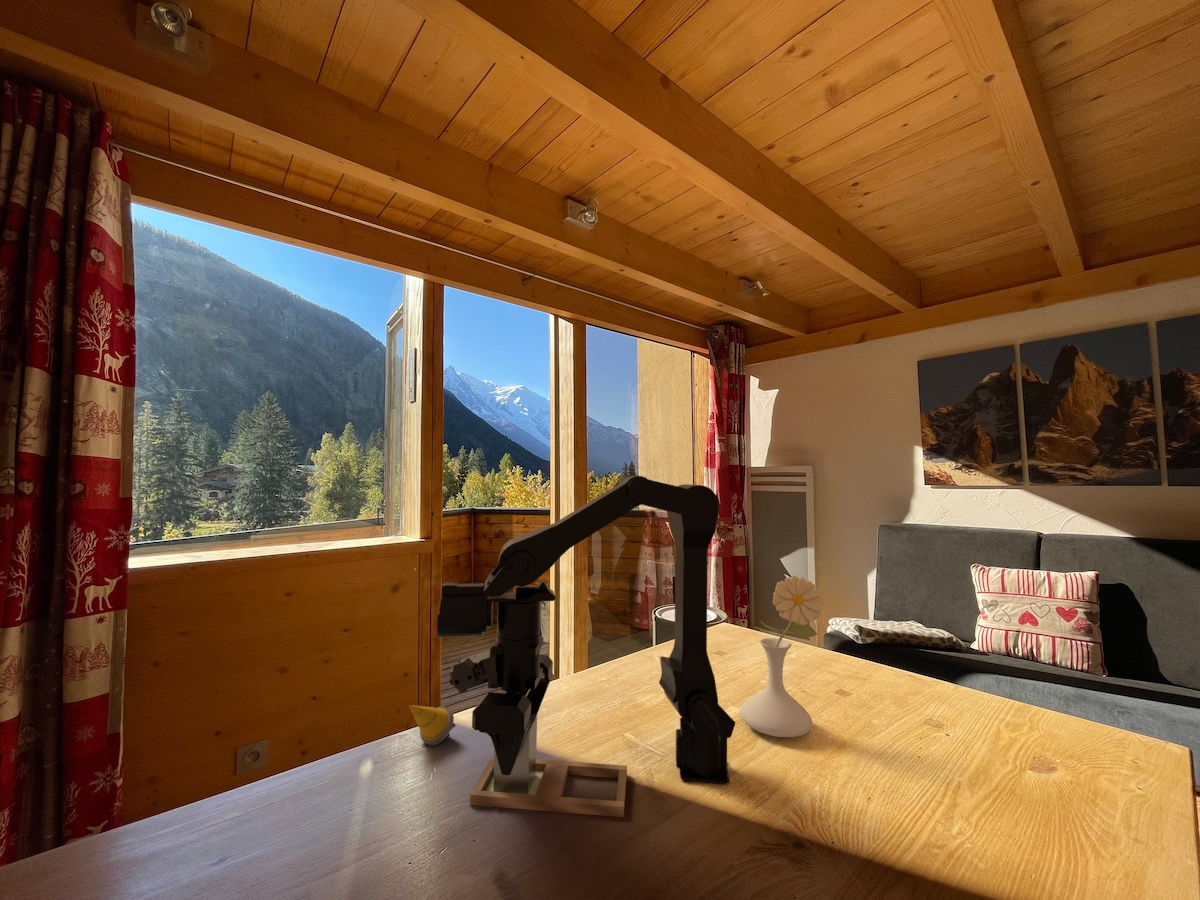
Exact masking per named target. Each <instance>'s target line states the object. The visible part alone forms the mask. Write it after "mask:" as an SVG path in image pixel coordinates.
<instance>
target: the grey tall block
mask: <svg viewBox="0 0 1200 900" xmlns="http://www.w3.org/2000/svg"><path fill="white" fill-rule="evenodd" d="M529 720H530V724H529V727H528V729H527V732H526V735H525V737H524V740H523V743H522V745H521V748H520V751H519V753H518V756H517V759H516V761H515V764H514V767H513V769H512V772H511V774H510V775H502V774H501V770H500V767H499V763H498V759H497V756H496V752H495V749H494V750H493V751H494V752H493V753H494V755H493V756H494V775H493V776H494V786H493V792H506V793H519V794H529V792H530V789H531V786H532V784H533V781H534V779H535V776H536V759H537V737H538V736H537V735H538V734H537V733H538V713H537V714H530V719H529Z"/></svg>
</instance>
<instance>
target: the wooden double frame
mask: <svg viewBox="0 0 1200 900" xmlns="http://www.w3.org/2000/svg"><path fill="white" fill-rule="evenodd" d="M568 775H570V776H584V777H596V778H597V777H598V778H609V779H618V780H617V788H616V798H615V800H608V799H594V798H583V797H581V798H579V797H571V796H570V797H568V796H563V794H564V791H565V786H566V783H567V780H568ZM627 777H628V765H621V764H608V763H607V764H606V763H595V762H582V761H567V760H566V761H565V760H552V759H537V758H536V776H535V779H534V781H533V784H532V786H531V789H530V792H529V794H519V793H506V792H493V786H494V755H492V756H491V757H490V759H489V760H488V762H487V764H486V766H485V768H484V769H483V771H482V773H481V775H480V776H479V778H478V780H477V782H475V783H476V784H474V785H475V786H474V787H473V788H472V791H471V792H470V794H469V805H470V806H481V807H492V808H506V809H507V808H508V809H517V810H528V811H529V810H531V811H542V812H543V811H544V812H552V813H553V812H557V813H568V814H581V815H592V816H593V815H594V816H605V817H615V818H617V817H619V818H624V817H625V805H626V804H625V803H626V801H625V800H626V792H627V781H628V780H627Z"/></svg>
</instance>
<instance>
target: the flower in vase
mask: <svg viewBox="0 0 1200 900" xmlns="http://www.w3.org/2000/svg"><path fill="white" fill-rule="evenodd" d="M772 599H773V600H772V604H773V606H775V610H776V611H777V612H779V616H780V618H782V619H785V620H786V621H788V622H789V624H788V625H787V627H786V628H785V630H784V631H783V633H781V632H780V631H779V629H776V628H775V627H773V626H770V625H768V624H766V623H765V622H764V621H762V620H761V619H760V623H761V625H762V627H765V628H766V629H768V630H770V631H773V632H775V633H777V634H778V635H780V637H779V638H777V637H776V638H775V637H764V638H762V639H759V644H761V646H762V648H763V649H764V652H765V657H766V660H767V668H768V671H767V672H768V679H767V684H766V686H765V688H763V689H762V690H761V691H759V692H758V693H756V694H754V695H753V696H752V697H749V698H748V699H747V700H746V701H745V702H744V703H743V704H741V707H740V710H739V715H740V718H741V720H742V721H743V722H744V723H745V725H747V726H748V727H749V728H751V729H753V730H754V731H757V732H759V733H762V734H764V735H768V736H772V737H778V738H795V737H801V736H803V735H806V734H808V733H809V732H810V731H811V730H812V728H813V726H814V723H813V719H812V717H811V715H810V713H809V712H808V711H807V710H806V708H805V707H803V705H802V704H800V702H798V701H797V700H796V699H795V698H794V697H792V696H791V694H789V693H788V692H787V690H786V689H785V685H784V678H783V671H784V670H783V669H784V663H785V662H784V661H785V658H786V656H787V655H786V654H787V653H788V651H789V650H790V648H791V647H792V643H791V642H790V641H788V640H785V639H783V638H784V636H785V635H786V634H787V632H788V630H789V629H790V630H791V631H792V632H793V633H794V634H795V636H796V637H798V638H800V639H808V638H812V637H815V636H817V635H818V633H817V631H815V629H814V628H813V627H812V626H811V625H809V622H811V623H812V622H815V621H816V620H817V619H818V620H819V619H820V618H821V612H822V611H823V609H824V608H823V605H824V598H823V596H822V595H820V591H819V590H818V589H816V585H815V584H814V583H813V582H812V581H810V580H806V578H804V577H797V575H792V576H791V577H786V578H784V580H781V581H777V583H776V586H775V591H774V592H773V596H772ZM793 622H794V623H793Z"/></svg>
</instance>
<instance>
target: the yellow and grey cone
mask: <svg viewBox="0 0 1200 900" xmlns="http://www.w3.org/2000/svg"><path fill="white" fill-rule="evenodd" d="M408 707H409V709H410V711H411V713H412V715H413V717H414V720H415V722H416V724H417V726H418V728H419V736H420V739H421V741H422V742H424V743H425V744H427V745H429V746H435V745H438V744H440V743H441V742H442V741H444V740H445V739H446V738H447V736H449V735H450V732H451V731H452V730H453V729H454V728H455V727H456V726H457V724H455V723H454V721H455V720H454V719H455V718H454V713H453V712H452V710H451V709H449V708H448V707H447V706H443V705H442V706H441V705H440V706H438V707H432V706H424V705H414V704H413V705H412V704H411V705H410V704H409V705H408Z"/></svg>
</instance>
